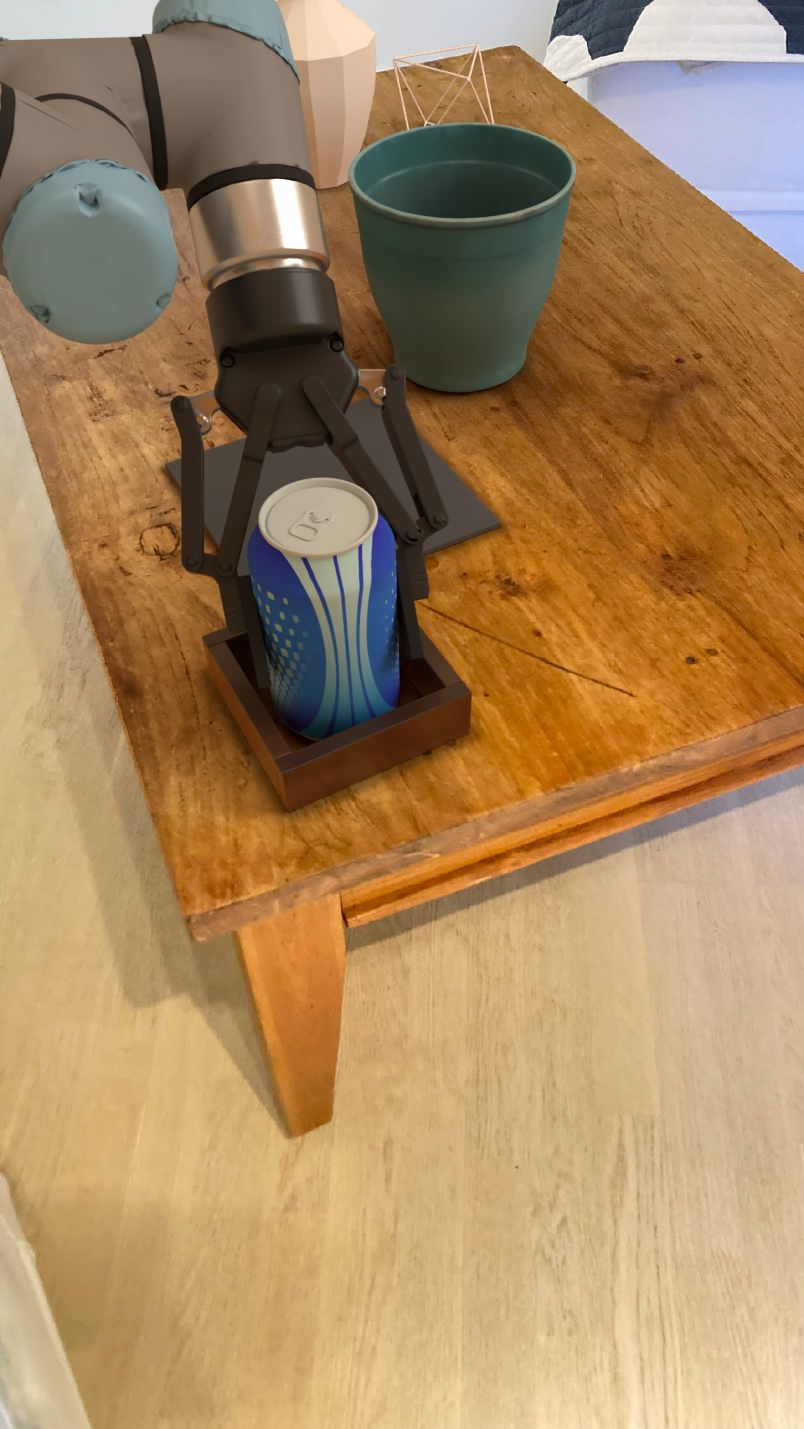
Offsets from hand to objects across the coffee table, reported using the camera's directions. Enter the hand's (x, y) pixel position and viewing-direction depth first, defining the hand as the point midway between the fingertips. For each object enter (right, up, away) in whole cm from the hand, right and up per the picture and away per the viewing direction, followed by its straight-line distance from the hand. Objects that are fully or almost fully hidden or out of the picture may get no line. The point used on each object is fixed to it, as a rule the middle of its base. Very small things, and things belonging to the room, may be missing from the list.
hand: (340, 671), depth 63 cm
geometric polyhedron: (+9, +66, +65) cm, 93 cm away
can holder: (-1, -2, +7) cm, 7 cm away
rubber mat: (-2, +15, +21) cm, 26 cm away
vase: (-6, +60, +60) cm, 85 cm away
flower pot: (+9, +30, +34) cm, 46 cm away
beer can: (-1, -2, +7) cm, 8 cm away
